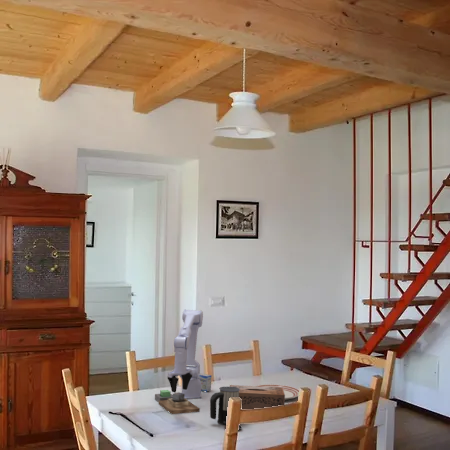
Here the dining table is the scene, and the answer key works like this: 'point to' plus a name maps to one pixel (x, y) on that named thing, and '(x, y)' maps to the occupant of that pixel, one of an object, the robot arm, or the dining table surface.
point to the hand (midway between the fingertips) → (179, 390)
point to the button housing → (160, 398)
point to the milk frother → (222, 403)
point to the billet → (178, 397)
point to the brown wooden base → (178, 406)
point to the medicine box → (205, 382)
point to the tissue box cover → (260, 396)
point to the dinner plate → (285, 390)
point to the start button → (165, 393)
